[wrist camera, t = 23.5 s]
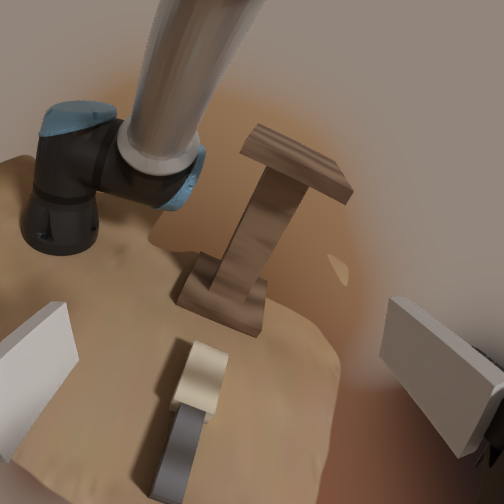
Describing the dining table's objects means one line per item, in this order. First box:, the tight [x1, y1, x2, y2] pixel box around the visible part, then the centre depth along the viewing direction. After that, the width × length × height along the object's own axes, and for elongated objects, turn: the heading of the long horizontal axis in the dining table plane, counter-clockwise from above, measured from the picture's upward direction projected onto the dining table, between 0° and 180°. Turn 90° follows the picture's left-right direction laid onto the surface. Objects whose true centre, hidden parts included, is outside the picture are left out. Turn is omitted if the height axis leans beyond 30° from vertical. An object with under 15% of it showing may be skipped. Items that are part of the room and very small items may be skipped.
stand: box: [176, 124, 353, 338], centre depth 49 cm, size 16×14×28 cm
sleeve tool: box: [148, 340, 229, 504], centre depth 32 cm, size 22×5×3 cm, turn 172°
